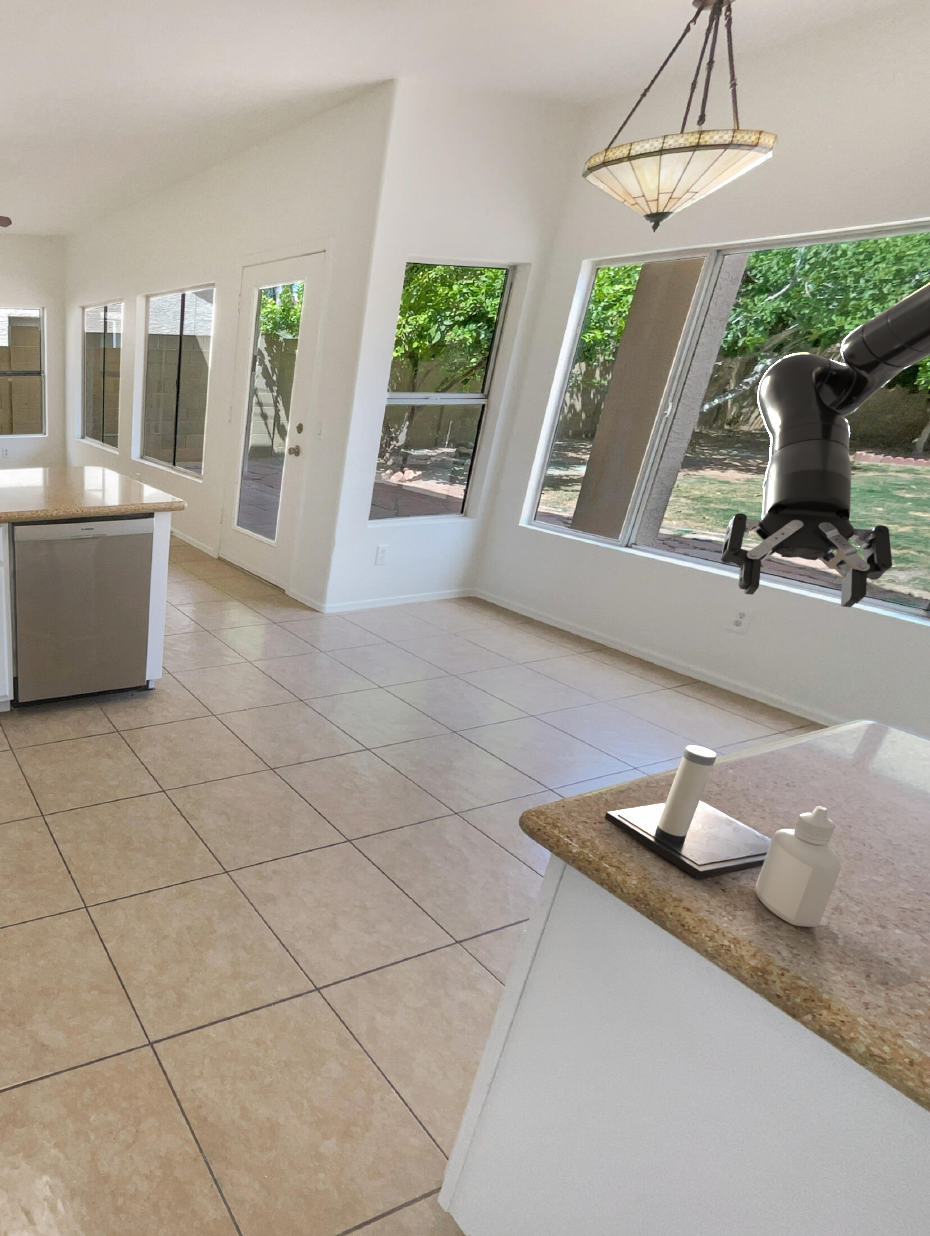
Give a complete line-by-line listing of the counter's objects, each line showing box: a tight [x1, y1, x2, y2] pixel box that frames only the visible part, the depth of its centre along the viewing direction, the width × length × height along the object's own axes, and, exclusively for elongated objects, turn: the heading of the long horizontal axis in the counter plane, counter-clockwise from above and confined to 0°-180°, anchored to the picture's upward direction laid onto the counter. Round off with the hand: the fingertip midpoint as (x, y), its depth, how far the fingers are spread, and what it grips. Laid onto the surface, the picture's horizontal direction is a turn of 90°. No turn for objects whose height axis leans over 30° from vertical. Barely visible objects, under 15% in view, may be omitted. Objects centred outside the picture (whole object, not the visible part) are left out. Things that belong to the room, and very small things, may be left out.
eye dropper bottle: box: [754, 805, 842, 928], centre depth 68 cm, size 4×6×12 cm
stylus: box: [656, 744, 717, 842], centre depth 78 cm, size 3×3×11 cm
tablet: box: [604, 800, 773, 880], centre depth 80 cm, size 14×11×1 cm
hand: (799, 597), depth 81 cm, fingers open, 8 cm apart
